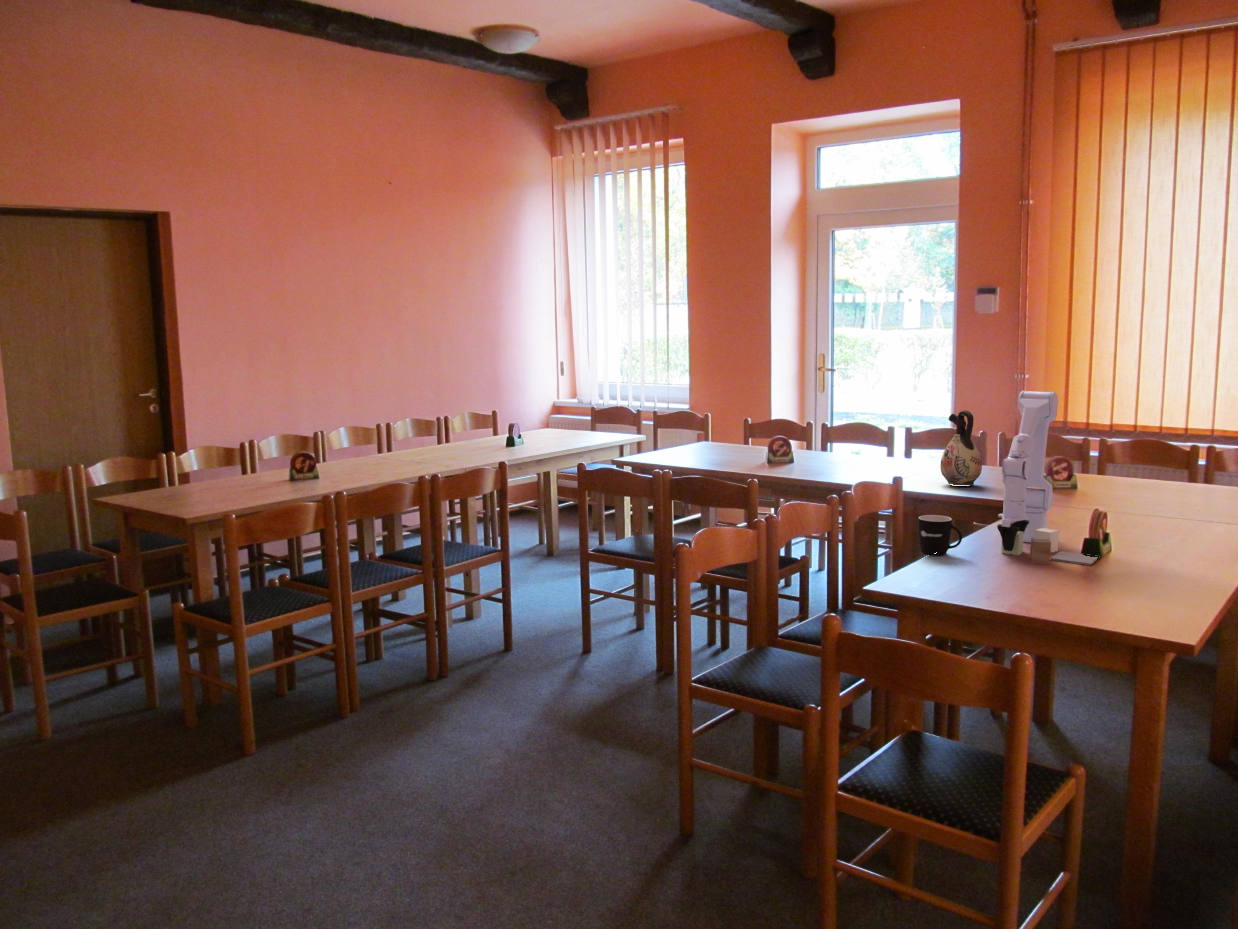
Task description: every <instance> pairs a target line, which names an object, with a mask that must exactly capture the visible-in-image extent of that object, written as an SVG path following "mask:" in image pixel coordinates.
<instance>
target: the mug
mask: <svg viewBox="0 0 1238 929" xmlns="http://www.w3.org/2000/svg"><path fill="white" fill-rule="evenodd" d="M917 518H918V519H917V520H918V521H917V529H918V532H917V533H918V543H919V549H920V551H921V553H922V554H923V555H926V556H931V557H942V556H945V555H946V554H947V552H948V551H949V549H955V548H957V547H958V546H960V544H961V542H962V541H963V540H962V539H963V535H962V531H961V530H960V529H959V527H957V526H955V525H953V518H951V517H950V516H947V515H938V514H925V515H920V516H918V517H917ZM952 529H953V530H955V531H956V533H958V538H959V539H958V541H957V543H956V544H954V545H953V544H952V545H950V542H951V541H950V540H951V535H952ZM936 552H937V553H936ZM934 553H936V554H934Z"/></svg>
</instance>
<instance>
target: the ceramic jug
mask: <svg viewBox="0 0 1238 929" xmlns="http://www.w3.org/2000/svg"><path fill="white" fill-rule="evenodd" d="M965 417H966V418H965ZM948 421H950V423H953V424H954V425H955V426H956V431H955V433H954V435H953V437H952V438H951V439H950V441H949V442H948V444H947V446H946V447H945V448H944V451H943V453H942V456H941V460H940V464H939V465H940V472H941V475H942V477H944V479H945V480H946V482H947V483H948V485H949V484H953V485H974V486H975V482H976V481H977V480H978V478H979V477H980V475H981V474H982V470H983V469H982V468H983V464H982V458H981V454H980V452H979V450H978V448H977V446H976V444H975V443H974V442H973V441H972V439H971V436H972V434H973V433H972V432H973V427H974V421H975V420H974V415H973V414H972V412H971V411H969V410H966V409H965V410H961V411H959V412H958V414H957V415H956V414H955V413H951V414H950V415H949V417H948Z"/></svg>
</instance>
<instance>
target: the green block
mask: <svg viewBox="0 0 1238 929" xmlns="http://www.w3.org/2000/svg"><path fill="white" fill-rule="evenodd" d="M1023 536H1024V532H1022V531H1018V532H1017V534H1016V537H1015V542H1014V547H1013V550H1012V551H1006V550H1004V548H1003V542H1002V541H1001V554H1002V553H1005V554H1004V555H1010V554H1012V555H1013V556H1017V557H1018V556H1019V555H1021V554H1023V553H1022V552H1024V542H1023ZM1012 555H1011V556H1012Z"/></svg>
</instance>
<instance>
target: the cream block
mask: <svg viewBox="0 0 1238 929" xmlns="http://www.w3.org/2000/svg"><path fill="white" fill-rule="evenodd" d="M1059 534H1060V530H1059V529H1053V528H1048V527H1047V528H1041V529H1037V530H1035V538H1043V539H1050V541H1051V552H1053V553H1055V551H1056V552H1059V536H1060V535H1059ZM1051 552H1050V554H1052V553H1051Z"/></svg>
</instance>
